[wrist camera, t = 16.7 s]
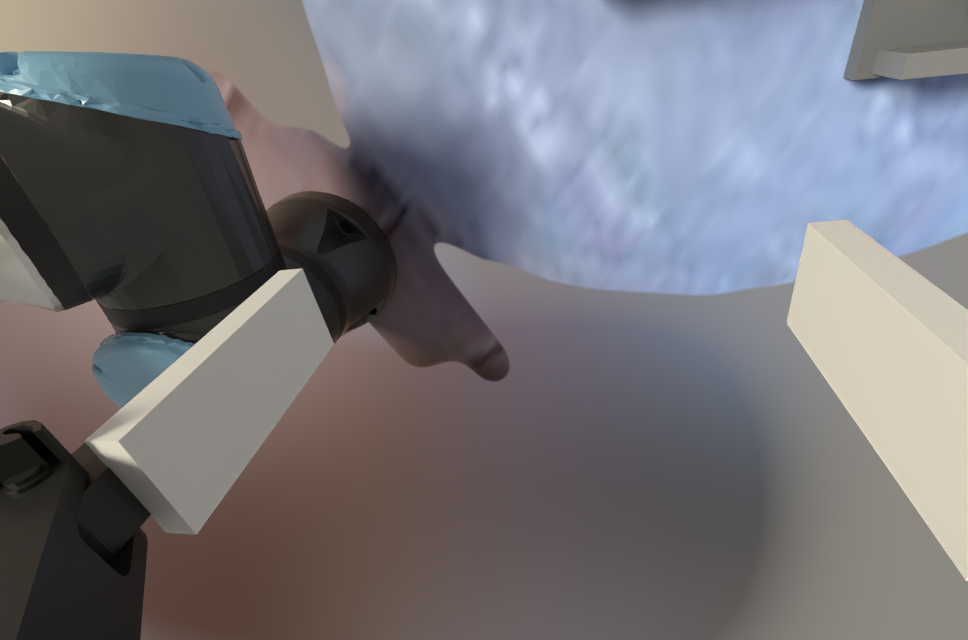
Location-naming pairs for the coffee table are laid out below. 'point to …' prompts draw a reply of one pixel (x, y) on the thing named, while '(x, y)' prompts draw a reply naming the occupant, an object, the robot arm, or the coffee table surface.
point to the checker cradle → (910, 39)
